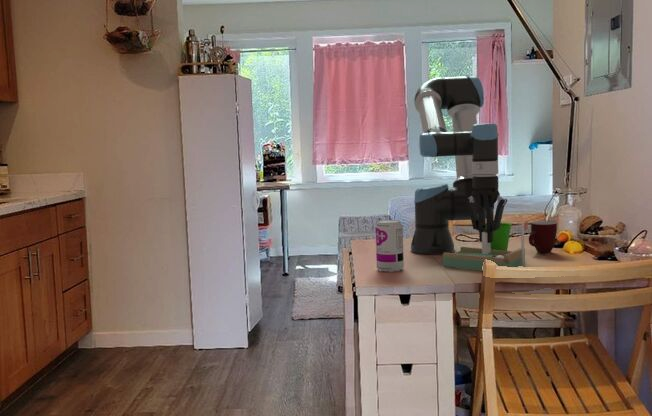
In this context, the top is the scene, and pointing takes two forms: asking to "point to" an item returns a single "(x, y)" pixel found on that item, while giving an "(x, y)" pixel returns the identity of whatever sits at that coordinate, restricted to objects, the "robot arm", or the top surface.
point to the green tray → (481, 258)
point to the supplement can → (389, 245)
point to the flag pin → (523, 227)
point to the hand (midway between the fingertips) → (486, 253)
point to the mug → (543, 236)
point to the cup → (501, 237)
